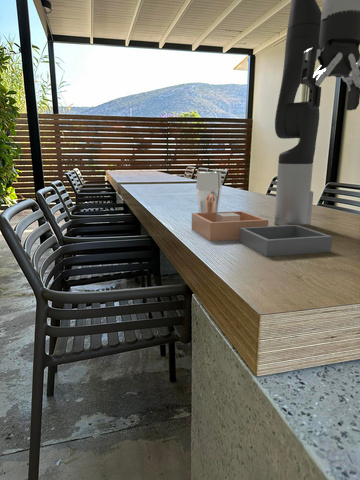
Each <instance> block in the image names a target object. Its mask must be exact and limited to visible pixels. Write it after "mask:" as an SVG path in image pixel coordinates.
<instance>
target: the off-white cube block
mask: <svg viewBox="0 0 360 480" xmlns="http://www.w3.org/2000/svg"><path fill="white" fill-rule="evenodd" d="M226 221H240V215H238V214H235V213H216V222H226Z"/></svg>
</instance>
